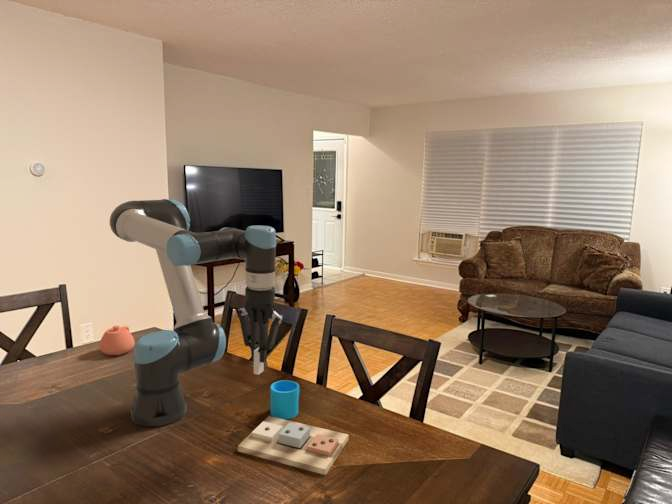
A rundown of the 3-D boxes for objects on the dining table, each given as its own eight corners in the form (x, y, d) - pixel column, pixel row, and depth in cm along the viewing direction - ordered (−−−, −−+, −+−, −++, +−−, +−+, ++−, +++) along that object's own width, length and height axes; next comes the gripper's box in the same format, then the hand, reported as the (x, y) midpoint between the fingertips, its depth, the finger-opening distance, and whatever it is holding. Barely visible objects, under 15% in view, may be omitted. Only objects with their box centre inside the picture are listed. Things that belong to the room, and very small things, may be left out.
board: (237, 451, 119) (237, 445, 119) (269, 420, 134) (269, 415, 133) (325, 475, 110) (325, 469, 110) (348, 439, 125) (348, 434, 125)
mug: (288, 422, 133) (288, 395, 132) (264, 414, 137) (264, 388, 136) (310, 404, 144) (310, 379, 142) (288, 397, 147) (288, 373, 146)
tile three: (307, 455, 118) (307, 445, 117) (316, 442, 123) (317, 433, 123) (329, 461, 115) (329, 451, 115) (338, 448, 121) (338, 438, 120)
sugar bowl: (92, 356, 176) (90, 330, 174) (115, 343, 189) (114, 318, 188) (122, 359, 174) (120, 332, 172) (143, 345, 187) (142, 321, 186)
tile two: (278, 442, 120) (278, 433, 120) (289, 431, 126) (289, 421, 125) (300, 448, 118) (300, 438, 117) (309, 436, 123) (310, 426, 123)
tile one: (251, 441, 123) (251, 431, 123) (263, 429, 129) (263, 420, 128) (271, 446, 121) (271, 436, 121) (282, 434, 127) (282, 425, 126)
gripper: (230, 286, 119) (229, 372, 124) (275, 293, 115) (273, 383, 119) (246, 279, 126) (245, 362, 131) (289, 286, 121) (287, 371, 126)
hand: (258, 372), depth 125 cm, fingers closed
